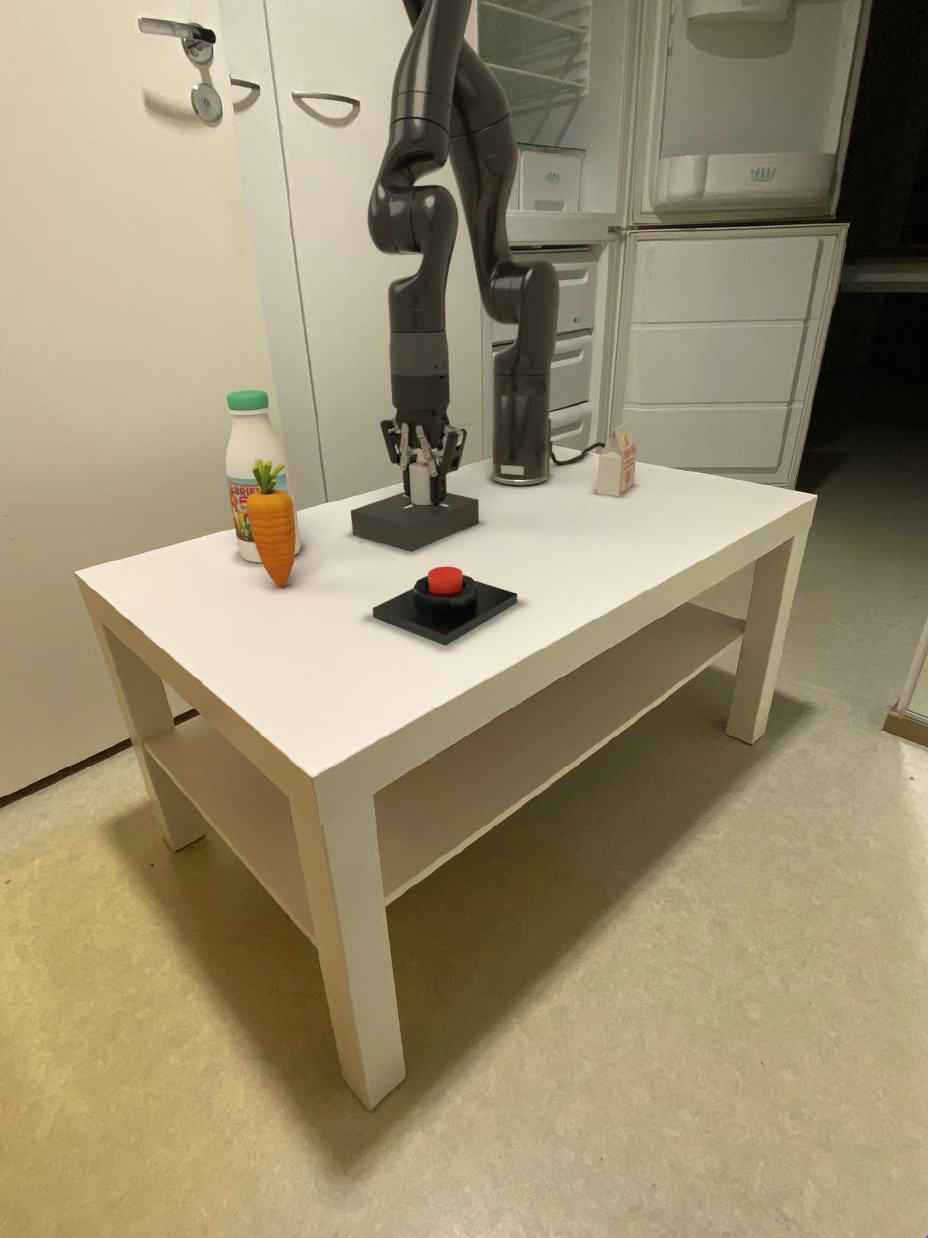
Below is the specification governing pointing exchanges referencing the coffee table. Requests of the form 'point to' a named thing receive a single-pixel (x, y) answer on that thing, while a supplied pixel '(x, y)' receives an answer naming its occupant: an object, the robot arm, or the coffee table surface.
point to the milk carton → (617, 463)
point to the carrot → (272, 523)
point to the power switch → (444, 609)
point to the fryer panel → (413, 520)
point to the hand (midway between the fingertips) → (425, 498)
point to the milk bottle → (253, 462)
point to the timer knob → (420, 483)
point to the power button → (445, 580)
